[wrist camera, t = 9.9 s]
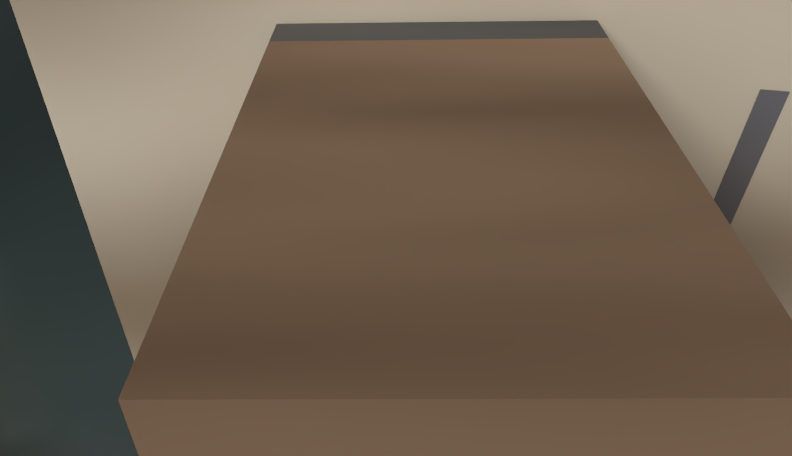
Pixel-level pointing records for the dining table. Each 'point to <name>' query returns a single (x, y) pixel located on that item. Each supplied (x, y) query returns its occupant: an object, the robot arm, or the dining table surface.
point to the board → (379, 3)
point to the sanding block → (458, 264)
